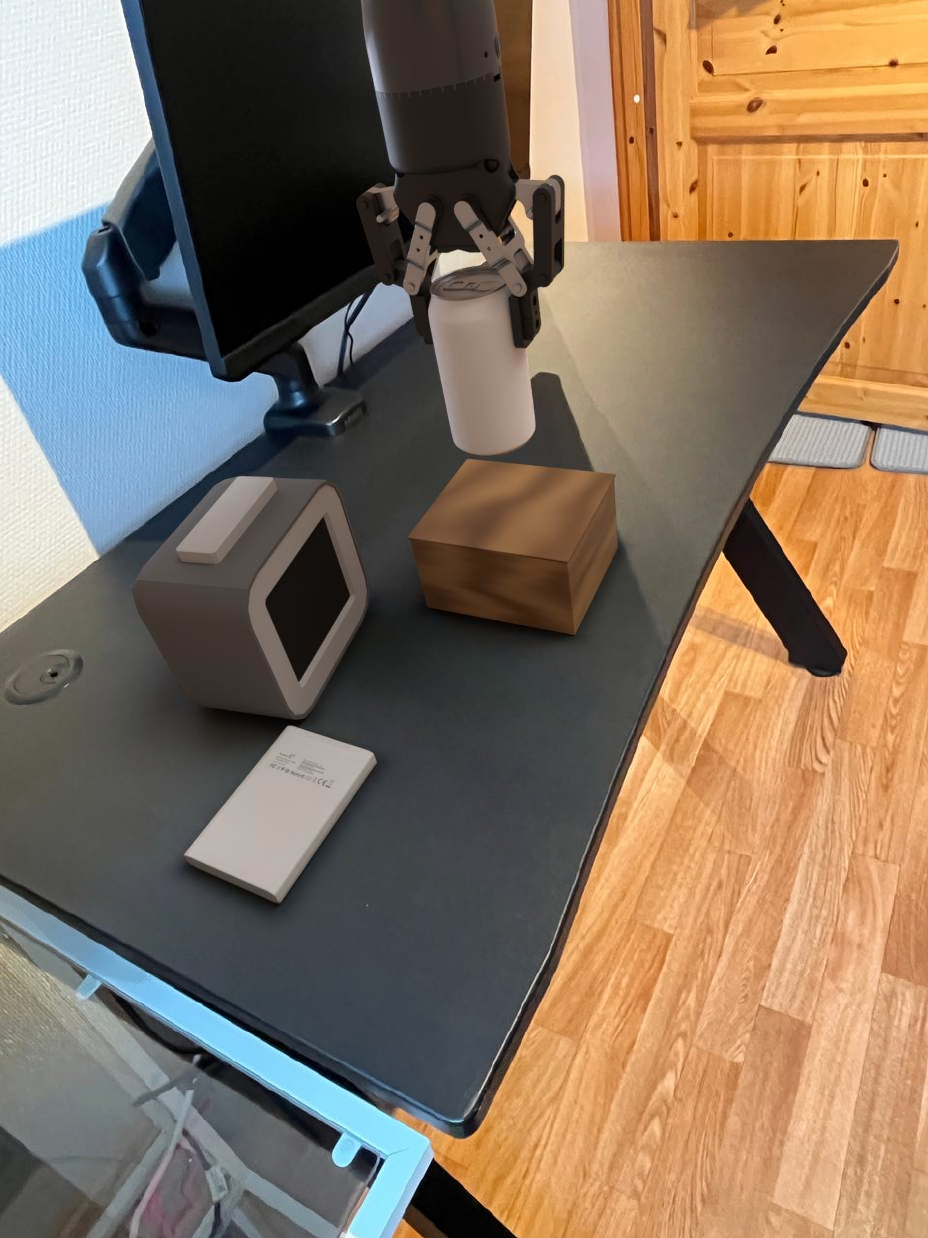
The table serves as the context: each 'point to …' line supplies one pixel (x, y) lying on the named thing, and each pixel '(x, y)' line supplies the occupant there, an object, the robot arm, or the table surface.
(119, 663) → the table surface
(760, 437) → the table surface
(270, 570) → the alarm clock
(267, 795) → the hard drive
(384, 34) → the robot arm
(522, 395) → the can
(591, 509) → the wooden block
